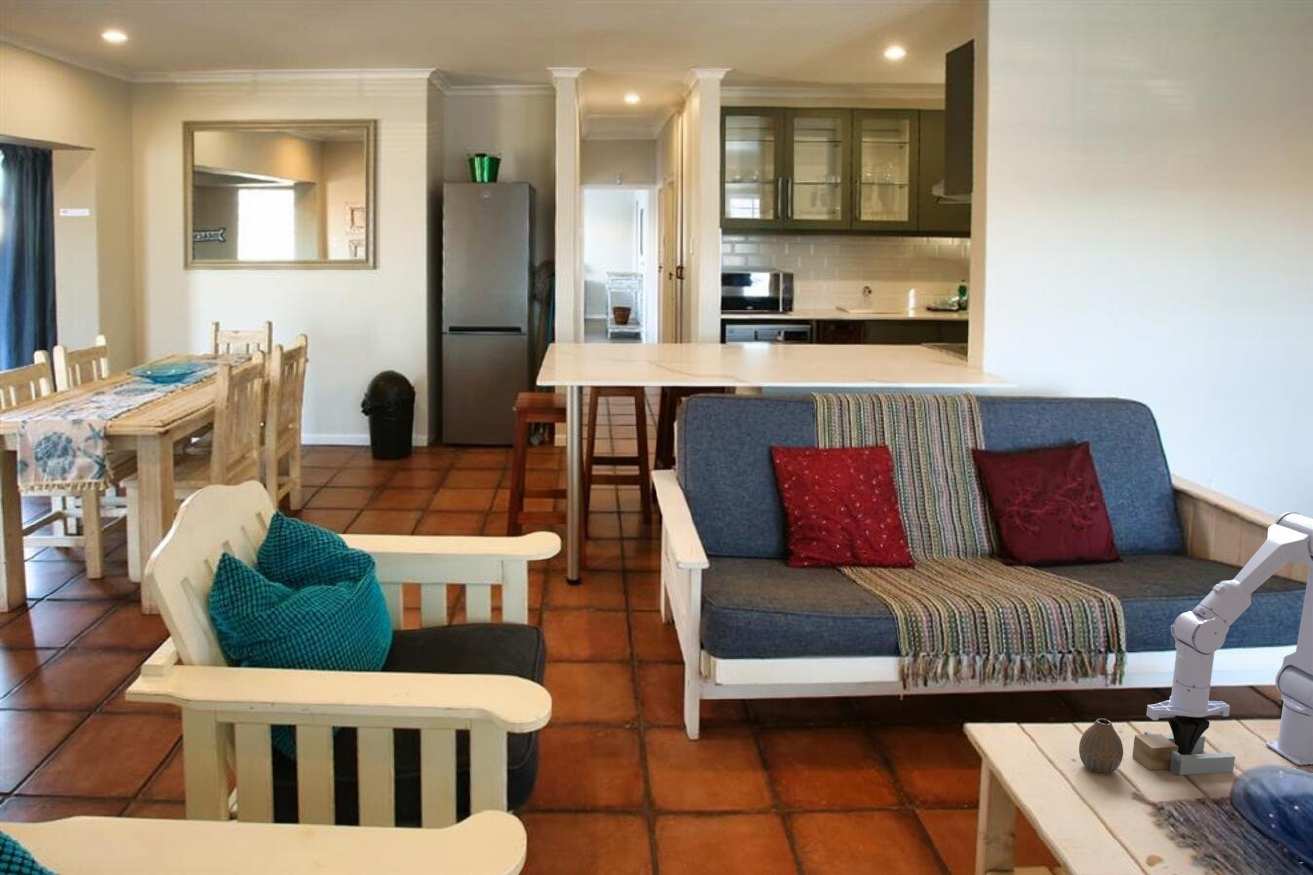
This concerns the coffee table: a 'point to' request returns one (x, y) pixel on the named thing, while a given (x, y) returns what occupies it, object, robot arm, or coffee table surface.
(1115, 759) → the vase
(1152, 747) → the walnut block
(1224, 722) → the coffee table surface
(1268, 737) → the coffee table surface
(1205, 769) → the pair of lipped bars
